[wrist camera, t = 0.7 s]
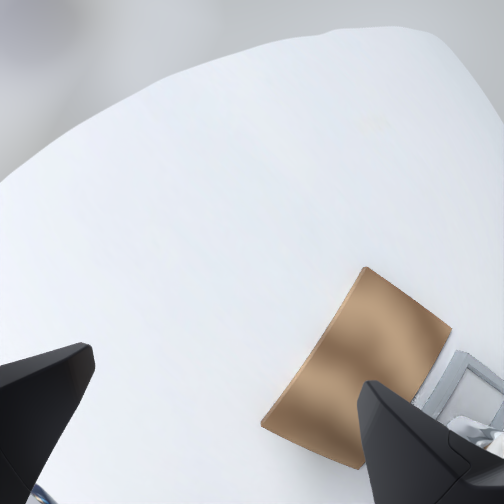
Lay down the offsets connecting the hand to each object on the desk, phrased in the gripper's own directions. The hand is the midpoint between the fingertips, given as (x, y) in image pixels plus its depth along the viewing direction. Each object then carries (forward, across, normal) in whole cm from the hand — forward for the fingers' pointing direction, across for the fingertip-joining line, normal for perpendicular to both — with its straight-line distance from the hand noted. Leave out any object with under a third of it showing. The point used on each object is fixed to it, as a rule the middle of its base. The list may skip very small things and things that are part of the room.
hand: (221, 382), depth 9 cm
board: (+13, -11, +9) cm, 20 cm away
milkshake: (+11, -24, +16) cm, 31 cm away
